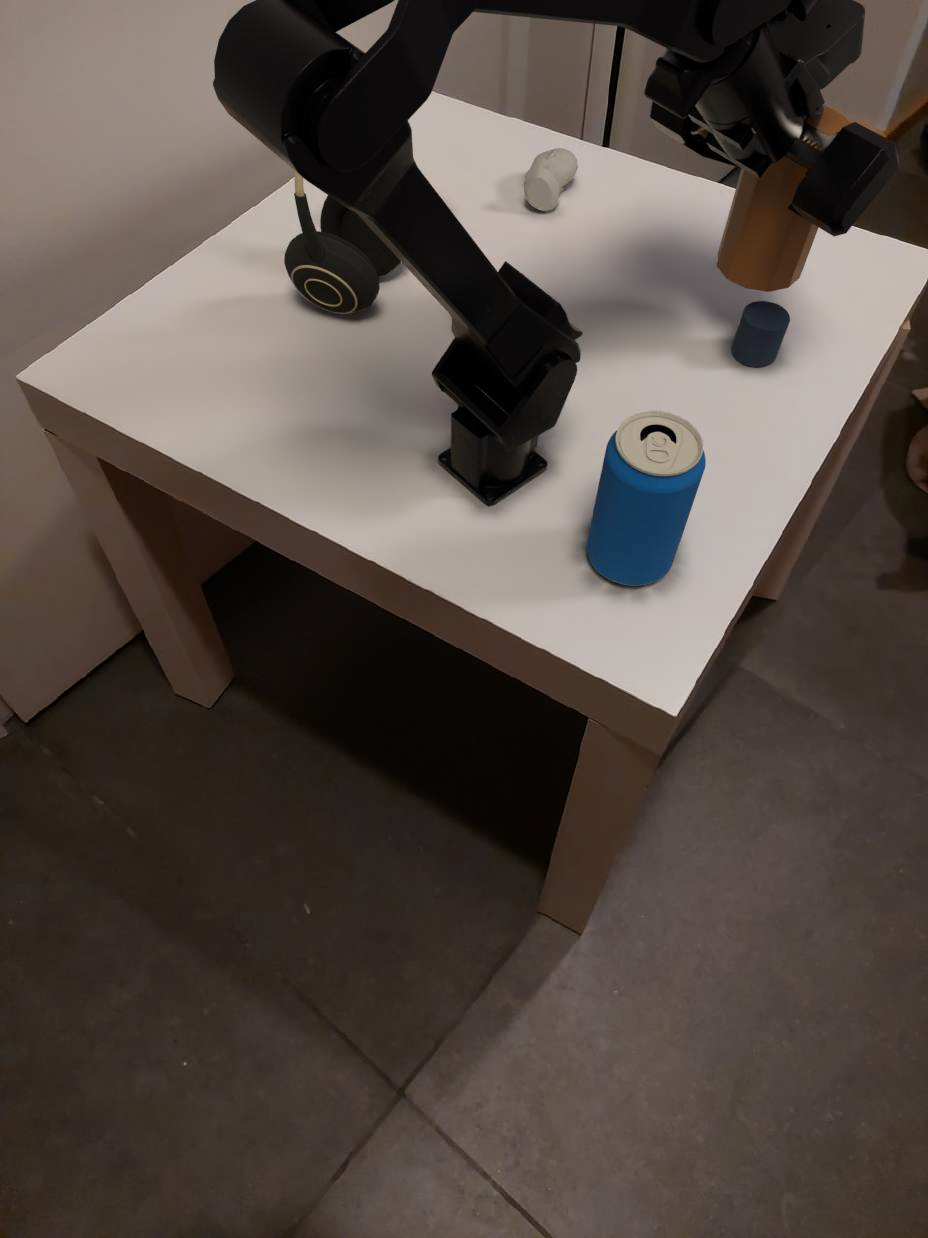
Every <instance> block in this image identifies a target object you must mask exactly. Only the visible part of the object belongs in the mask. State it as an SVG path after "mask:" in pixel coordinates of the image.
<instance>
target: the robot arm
mask: <svg viewBox="0 0 928 1238" xmlns="http://www.w3.org/2000/svg"><path fill="white" fill-rule="evenodd" d="M395 1H396V0H253V1H251V2H249V3H247V4H244V5H243V6H242V7H241V8H239V10H238V11H237V12H235V14H234V15H233V16H231V18H229V20H228V22H227V23H226V25H225V27H224V29H223V31H222V32H221V35H220V37H219V38H218V40H217V41H218V42H217V46H216V50H215V55H214V60H213V67H214V69H213V70H214V71H213V72H214V79H213V82H212V87H213V90H214V92H215V95H216V98H217V100H218V101H219V103H220V104H221V105H222V107H223V109H225V110H224V111H226V112H227V114H228V115H229V116H230V117H231V118H233V119H234V120H235V121H236V122H237V123H239V124H240V126H242V127H243V128H244V129H246V131H248V133H250V134H252V136H254V137H255V138H256V139H257V140H258V141H259V142H261V143H262V144H263V145H264V146H265V147H266V148H267V149H269V150H270V151H271V152H272V153H274V154H275V155H276V156H277V157H278V158H279V159H281V160H282V161H283V162H284V163H285V164H286V165H287V166H289V167H290V168H291V169H292V170H293V171H294V172H295V171H296V172H297V173H298V174H299V175H301V176H302V177H303V180H305V181H306V182H307V183H309V184H311V185H312V186H313V187H315V188H317V189H318V190H320V191H321V192H322V193H324V194H326V195H327V196H328V195H329V196H330V197H332V198H333V199H335V200H336V201H338V202H339V203H341V204H342V205H344V206H345V207H347V208H348V209H350V210H352V211H354V212H356V213H357V214H358V215H359V217H360V218H361V219H362V220H363V221H364V222H365V223H366V224H367V225H368V226H369V227H370V228H371V230H372V231H373V232H374V233H375V234H376V235H377V236H378V237H379V238H380V239H381V240H382V241H383V242H384V244H385V245H386V246H387V247H388V248H389V249H390V250H391V251H392V252H393V253H394V254H395V255H396V256H397V258H398V259H399V260H400V261H401V263H402V264H403V265H404V266H405V267H406V268H407V270H408V271H409V272H410V273H411V274H412V275H413V276H414V277H415V278H416V279H417V281H419V283H421V285H422V286H423V287H424V288H425V289H426V290H427V291H428V292H429V293H430V294H431V296H432V297H433V298H434V299H436V301H437V302H438V303H439V304H440V305H441V306H442V307H443V309H445V311H446V312H447V313H448V314H449V316H450V317H451V324H450V325H451V327H450V329H451V332H452V334H453V336H454V338H453V339H452V341H451V343H450V344H449V345H448V346H447V348H446V350H445V351H444V353H443V354H442V355H441V357H440V358H439V360H438V362H437V363H436V365H435V366H434V367H433V369H432V370H431V377H432V378H433V381H434V382H435V385H436V387H437V389H438V390H439V391H441V393H445V394H446V395H447V396H448V397H449V398H450V399H451V400H452V401H453V402H454V404H456V405H457V409H455V410H454V411H452V412H451V413H450V447H449V448H448V449H445V450H444V451H443V452H441V453H439V454H438V456H437V463H438V464H439V465H440V466H441V467H442V468H444V469H445V470H446V471H447V472H448V473H449V474H450V475H452V476H453V477H454V478H455V479H456V480H458V482H460V483H461V484H462V485H464V487H466V489H468V490H469V491H470V492H471V493H472V494H474V495H475V496H476V497H477V498H478V499H479V500H481V501H482V502H483V503H484V504H486V505H488V506H494V505H495V504H497V503H498V502H500V501H502V500H503V499H505V498H507V496H509V495H511V494H512V493H513V492H515V491H516V490H518V489H520V488H521V487H523V486H524V485H525V484H528V483H529V482H530V481H531V480H533V479H534V478H536V477H538V476H539V475H541V474H542V473H544V472H545V471H547V469H548V466H549V465H548V463H549V462H548V461H547V459H545V458H544V457H543V456H542V455H540V454H539V453H538V452H537V451H536V449H537V448H538V443H539V436H540V435H543V434H544V433H546V432H547V431H549V430H551V429H553V428H554V427H555V426H556V425H557V423H558V420H559V419H560V415H561V414H562V411H563V408H564V407H565V404H566V402H567V400H568V397H569V394H570V392H571V390H572V387H573V385H574V382H575V381H576V377H577V375H578V374H577V373H578V365H577V363H579V362H580V361H581V357H582V356H581V355H582V354H581V352H582V351H581V348H580V345H579V343H578V342H577V341H576V340H577V339H580V338H581V337H582V336H583V332H582V330H580V329H579V328H578V327H576V326H575V325H574V324H572V322H570V320H569V317H568V314H567V312H566V310H565V309H564V308H563V306H562V304H561V303H560V302H559V301H558V300H557V299H555V298H553V296H551V295H550V294H549V293H547V292H546V291H544V290H543V289H542V288H541V287H540V286H538V285H537V284H536V283H535V282H533V281H532V280H531V279H529V277H527V276H526V275H525V274H523V273H522V272H521V271H519V270H518V269H517V268H515V267H514V266H513V265H512V264H510V262H508V261H507V260H505V261H504V262H503V264H502V265H501V267H500V268H499V269H498V270H497V269H496V267H495V266H494V265H493V263H492V262H491V261H490V259H489V258H488V257H487V255H486V254H485V253H484V252H483V251H482V249H481V248H480V247H479V246H478V244H477V243H476V241H475V240H474V239H473V237H472V236H471V235H470V233H469V232H468V231H467V229H466V228H465V227H464V226H463V224H462V223H461V222H460V221H459V219H458V218H457V217H456V215H455V214H454V212H453V211H452V210H451V208H450V207H449V206H448V205H447V204H446V202H445V201H444V200H443V198H442V197H441V196H440V194H439V192H437V190H436V189H435V188H434V186H433V185H432V184H431V182H430V181H429V180H428V178H426V176H425V174H424V173H423V172H422V170H421V169H420V168H419V166H418V165H417V163H416V160H415V158H414V146H413V130H412V127H411V124H410V122H409V120H410V119H411V118H412V117H413V115H415V113H416V112H417V111H418V110H419V109H420V108H421V107H422V106H423V105H424V104H425V103H426V102H427V100H428V99H429V97H430V96H431V94H432V92H433V89H434V87H435V84H436V81H437V79H438V76H439V73H440V70H441V68H442V65H443V62H444V59H445V56H446V54H447V51H448V48H449V47H450V46H449V45H450V43H451V40H452V37H453V35H454V33H455V32H456V31H457V30H458V29H459V28H460V26H462V25H463V24H464V22H465V21H466V20H468V18H470V16H471V15H472V14H473V13H478V14H479V13H480V14H490V15H500V16H511V17H521V18H531V19H539V20H541V19H543V20H552V21H562V22H571V23H582V24H583V23H584V24H594V25H601V26H612V27H613V26H615V27H620V28H621V27H622V28H624V29H626V30H627V31H631V32H633V33H635V34H636V35H639V36H640V37H643V38H645V39H647V40H649V41H651V42H653V43H656V44H658V45H659V46H661V47H663V48H665V51H664V54H663V55H662V56H660V57H658V58H657V59H656V61H655V65H654V69H653V71H652V72H651V73H650V75H649V76H648V78H647V81H646V83H645V87H644V92H643V94H644V97H645V98H646V99H648V100H650V101H651V106H650V113H649V118H650V120H651V121H652V123H653V124H654V125H655V127H656V128H657V129H658V130H659V131H661V132H662V133H663V134H665V135H667V136H668V137H670V138H671V139H674V140H675V141H677V142H678V143H680V144H681V145H682V146H684V147H686V148H688V149H689V150H691V151H692V152H693V153H695V154H697V155H699V156H701V157H703V158H706V159H709V160H712V161H716V162H719V163H723V164H725V165H729V166H732V167H736V168H739V169H742V168H743V169H745V170H746V171H748V172H750V173H751V174H753V175H755V176H756V177H758V178H759V179H760V178H761V176H762V175H763V174H764V172H765V171H766V170H767V168H768V167H769V166H770V164H771V163H772V164H773V163H776V162H777V161H779V160H780V159H782V158H783V157H784V156H785V157H786V158H788V159H790V160H792V161H793V162H795V163H797V164H799V165H800V166H802V167H804V168H805V169H807V170H808V171H807V172H806V173H805V175H804V176H805V177H804V178H803V179H802V181H801V182H800V183H799V184H798V186H797V189H796V191H795V194H794V197H793V200H792V203H791V204H790V205H789V207H788V209H789V210H790V211H792V212H794V213H795V214H797V215H799V216H800V217H802V218H803V219H805V220H807V221H808V222H810V223H812V224H814V225H816V226H817V227H819V228H818V229H821V230H822V231H823V232H826V233H827V234H829V235H831V236H832V237H833V238H834V237H838V236H841V235H845V234H848V232H849V231H850V229H851V228H852V227H853V225H854V224H855V223H856V222H857V221H858V219H859V218H860V217H861V215H862V214H863V213H864V212H865V211H866V209H868V207H869V206H870V204H871V203H872V202H873V201H874V200H875V198H876V197H877V196H878V194H879V193H880V192H881V191H882V189H883V188H885V186H886V185H887V183H888V182H889V181H890V179H892V177H893V176H894V175H895V173H896V172H897V171H898V170H899V169H900V156H899V153H898V149H897V146H896V143H895V142H894V141H892V140H890V139H889V138H886V137H885V136H883V135H881V134H879V133H877V132H876V131H873V130H872V129H869V128H867V127H866V126H864V125H862V124H860V123H859V122H857V121H853V122H850V124H849V125H847V126H844V127H843V128H842V129H841V130H840V131H839V132H837V133H835V134H833V135H831V136H830V135H827V134H826V133H824V132H822V131H820V130H818V129H817V128H815V127H813V126H811V125H809V124H807V123H806V122H804V119H805V118H806V117H809V118H811V119H812V118H813V117H814V116H815V115H816V113H817V112H818V111H819V110H820V108H821V107H822V106H823V105H825V103H826V102H825V98H824V97H823V93H822V92H821V91H822V90H824V89H825V88H827V86H829V85H830V83H832V82H833V81H834V80H835V79H836V78H837V77H838V76H839V75H840V74H841V73H842V72H843V71H844V70H845V69H847V67H849V66H850V65H852V64H854V63H855V62H856V61H857V60H858V59H859V58H860V57H861V55H862V52H863V50H862V49H863V39H864V29H865V18H866V8H865V6H864V5H863V4H862V3H860V2H857V1H856V0H397V3H396V5H395V8H394V11H393V13H392V16H391V19H390V22H389V24H388V27H387V29H386V30H385V31H384V32H383V33H382V35H380V37H378V39H377V40H376V41H375V42H374V43H373V44H372V45H371V46H370V47H369V49H368V50H367V51H366V52H365V51H363V50H362V49H360V48H359V47H358V46H356V45H355V44H354V43H352V42H351V41H349V40H348V39H347V38H345V37H343V36H342V35H340V34H339V33H337V32H339V31H341V30H343V29H345V28H347V27H348V26H351V25H352V24H354V23H356V22H358V21H361V20H362V19H365V18H366V17H367V16H369V15H371V14H374V13H375V12H376V11H379V10H380V9H382V8H384V7H386V6H388V5H390V4H392V3H394V2H395ZM803 138H804V139H803ZM802 139H803V140H804V141H802ZM807 141H808V143H806V142H807ZM810 144H812V146H811V145H810ZM815 146H817V147H816V148H817V149H816V148H815ZM820 148H821V151H820V150H819V149H820Z"/></svg>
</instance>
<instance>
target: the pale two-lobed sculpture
mask: <svg viewBox="0 0 928 1238" xmlns="http://www.w3.org/2000/svg"><path fill="white" fill-rule="evenodd" d="M578 168H579V164H578V159H577V157H576V155H575V154H574V153H573V152H572V151H570V150H568V149H565V148H561V147H557V148H552V149H548V150H545V151H543V152H541V153H539V154H537V155H536V156H535V157H534V159H533V161H532V163H531V165H530V168H529V169H527V171H526V172H525V173H524V181H525V185H524V196H525V199H526V200H527V202H528V203H529V205H531V206H532V207H533V208H535V209H536V210H539V211H542V212H550V211H553V210H554V208H556V206H557V204H558V203H559V199H560V193H561V192H563V187H564V186H566V185H567V184H568V183H569V182H570V181H572V180H573V178H574V177H575V176H576V174H577V172H578Z"/></svg>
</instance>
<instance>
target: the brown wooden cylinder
mask: <svg viewBox="0 0 928 1238" xmlns="http://www.w3.org/2000/svg"><path fill="white" fill-rule="evenodd" d="M804 122H806V123H807V124H809V125H811V126H813V127H815V128H817V129H818V130H820V131H822V132H824V133H826V134H827V135H830V136H831V135H833V134H835V133H837V132H839V131H840V130H841V129H842V128H843V127H844V126H847V125H849V124H851V122H850V120H849V119H848V118H847V117H845V115H843V114H842V113H840V112H839V111H838V110H836V109H835V108H832V107H829V106H827V105H825V104H823V106H822V107H821V108H820V110H819V111H818V112H817V113H816V115H815V116H814V117H813V118H812V119H811V118H809V117H806V118H805V119H804ZM803 139H804V138H803ZM803 139H802V141H804V140H803ZM806 143H808V141H807V142H806ZM810 145H811V146H812V144H810ZM816 147H817V146H815V148H816ZM816 149H817V148H816ZM819 150H820V151H821V148H820V149H819ZM807 171H808V170H807V169H805V168H804V167H802V166H800V165H799V164H797V163H795V162H793V161H792V160H790V159H788V158H786V157H785V156H784V157H783V158H782V159H780V160H779V161H777V162H776V163H773V164H772V163H771V164H770V166H769V167H768V168H767V170H766V171H765V172H764V174H763V175H762V176H761V178H760V179H759V178H758V177H756V176H755V175H753V174H751V173H750V172H748V171H746V170H745V169H743V168H740V173H739V178H738V180H737V182H736V183H737V184H736V186H735V187H736V188H735V190H734V194H733V198H732V201H731V204H730V208H729V211H728V214H727V215H728V216H727V218H726V223H725V225H724V229H723V233H722V235H721V236H722V237H721V240H720V244H719V247H718V250H717V255H716V256H717V257H716V267H717V269H718V270H719V271H720V273H721V274H722V275H723V276H724V278H725V279H726V280H727V281H729V282H731V283H733V284H735V285H737V286H740V287H742V288H744V289H746V290H753V291H758V292H765V293H766V292H767V293H771V292H775V291H781V290H785V289H789V288H790V287H792V285H794V283H796V282H797V281H798V280H799V279H800V278H801V275H802V272H803V270H804V268H805V265H806V262H807V259H808V257H809V254H810V253H811V249H812V247H813V243H814V241H815V238H816V236H817V233H818V230H819V229H820V228H819V227H817V226H816V225H814V224H812V223H810V222H808V221H807V220H805V219H803V218H802V217H800V216H799V215H797V214H795V213H794V212H792V211H790V210H789V209H788V207H789V205H790V204H791V203H792V200H793V197H794V194H795V191H796V189H797V186H798V184H799V183H800V182H801V181H802V179H803V178H804V177H805V176H804V175H805V173H806V172H807Z"/></svg>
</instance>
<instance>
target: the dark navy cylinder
mask: <svg viewBox="0 0 928 1238" xmlns="http://www.w3.org/2000/svg"><path fill="white" fill-rule="evenodd" d="M790 322H791V316H790V313H789V312H788V310H787V309H786V308H785V307H783V306H782V305H780V304H778V303H776V302H773V301H769V300H756V301H752V302H749V303H748V304H746V305H745V307H743V310H742V313H741V316H740V319H739V323H738V326H737V328H736V331H735V335H734V338H733V341H732V344H731V346H730V347H731V348H730V352H731V355H732V356H733V359H735V360H736V361H737V362H738V363H740V364H742V365H743V366H746V367H750V368H765V367H768V366H771V365H772V364H773V363H774V362H775V360H776V359H777V358H778V357H777V356H778V353H779V351H780V349H781V347H782V344H783V341H784V338H785V335H786V333H787V329H788V328H789V325H790Z"/></svg>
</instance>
